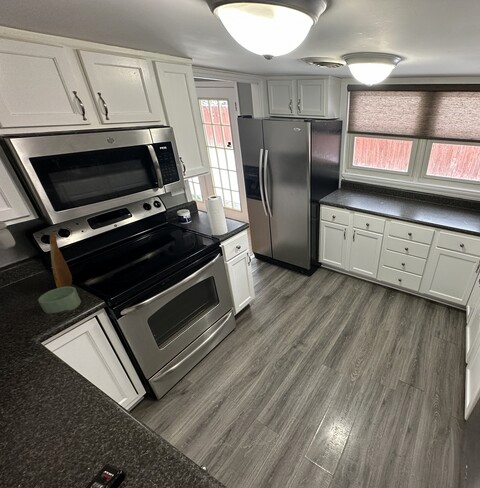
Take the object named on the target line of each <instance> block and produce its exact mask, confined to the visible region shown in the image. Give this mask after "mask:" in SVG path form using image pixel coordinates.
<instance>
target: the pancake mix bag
mask: <svg viewBox="0 0 480 488" xmlns="http://www.w3.org/2000/svg"><path fill="white" fill-rule="evenodd" d="M49 248H50V260H51V261H50V262H51V268H52V269H51V270H52V274H53V278H54V282H55V286H56V289H57V288H60V287H72V284H73V280H72V278H73V276H72V275H73V274H72V272H71V271H70V269H69V266H68V264H67V262H66V260H65V258H64V256H63V254H62V251H61V250H60V247H59V245H58V241H57V238H56V235H55V234H54V232H52V231H50V233H49Z"/></svg>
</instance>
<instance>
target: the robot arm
mask: <svg viewBox="0 0 480 488" xmlns="http://www.w3.org/2000/svg"><path fill="white" fill-rule="evenodd" d="M7 227H8V225H7V223H6V222H4V221H1V220H0V250H8V249H11V248H13V247H15V246H16V241H15V238H14V236H13V234H12V233H11V231H10V230H9V229H7Z"/></svg>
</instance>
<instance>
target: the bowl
mask: <svg viewBox="0 0 480 488" xmlns="http://www.w3.org/2000/svg"><path fill="white" fill-rule="evenodd" d="M80 298H81V297H80V295H79V293H78V291H77V289H76V287H74V286H71V287H60V288H57V287H56V288H54V289H50V290H48V291H47V292H44V293H43V294H42V295H40V296H39V297H38V298H37V301H38V303H39V305H40V307H41V308H42V310H43V312H44V313H46V314H56V313H61V312H64V311H74V310H75V309H77V308H78V307H79V306H80V305H81V303H82V300H81V299H80Z"/></svg>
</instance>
